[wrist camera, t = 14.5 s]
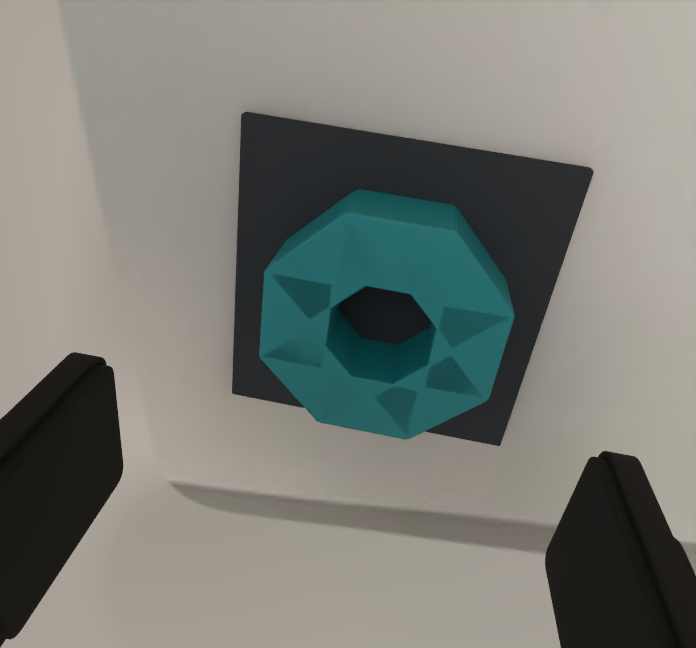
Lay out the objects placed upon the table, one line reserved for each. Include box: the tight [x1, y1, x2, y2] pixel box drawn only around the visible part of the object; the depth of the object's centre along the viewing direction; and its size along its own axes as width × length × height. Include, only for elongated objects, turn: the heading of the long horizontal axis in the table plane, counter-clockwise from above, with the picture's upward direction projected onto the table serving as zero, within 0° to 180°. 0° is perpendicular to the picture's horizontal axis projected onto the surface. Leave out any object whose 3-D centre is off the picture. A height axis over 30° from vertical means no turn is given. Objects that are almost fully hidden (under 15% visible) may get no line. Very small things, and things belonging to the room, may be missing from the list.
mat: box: [232, 112, 593, 446], centre depth 18 cm, size 10×10×1 cm
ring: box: [259, 189, 514, 439], centre depth 17 cm, size 7×7×2 cm
